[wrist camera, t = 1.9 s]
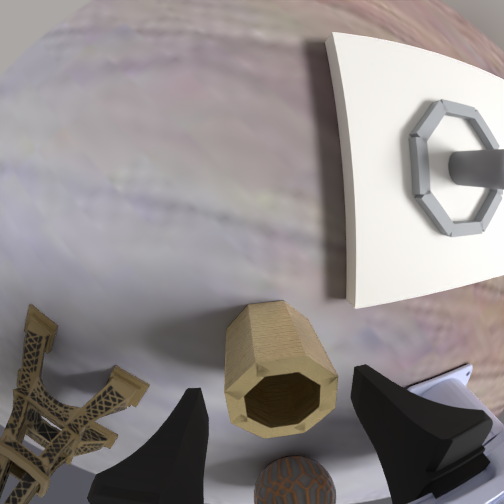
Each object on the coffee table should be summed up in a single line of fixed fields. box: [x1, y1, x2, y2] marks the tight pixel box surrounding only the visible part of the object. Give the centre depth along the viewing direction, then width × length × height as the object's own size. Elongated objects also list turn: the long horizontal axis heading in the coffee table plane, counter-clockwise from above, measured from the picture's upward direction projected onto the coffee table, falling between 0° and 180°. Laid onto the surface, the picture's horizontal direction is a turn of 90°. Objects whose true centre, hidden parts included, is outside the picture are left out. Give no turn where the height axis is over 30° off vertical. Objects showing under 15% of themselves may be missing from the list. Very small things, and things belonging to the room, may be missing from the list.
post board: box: [325, 32, 504, 309], centre depth 13 cm, size 16×16×6 cm
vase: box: [254, 456, 336, 504], centre depth 17 cm, size 7×7×9 cm
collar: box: [224, 300, 338, 438], centre depth 15 cm, size 5×5×6 cm
